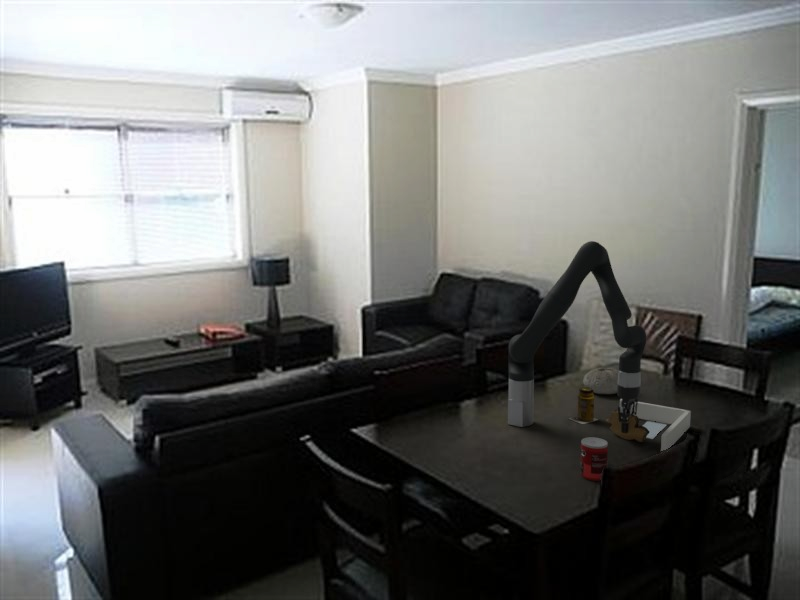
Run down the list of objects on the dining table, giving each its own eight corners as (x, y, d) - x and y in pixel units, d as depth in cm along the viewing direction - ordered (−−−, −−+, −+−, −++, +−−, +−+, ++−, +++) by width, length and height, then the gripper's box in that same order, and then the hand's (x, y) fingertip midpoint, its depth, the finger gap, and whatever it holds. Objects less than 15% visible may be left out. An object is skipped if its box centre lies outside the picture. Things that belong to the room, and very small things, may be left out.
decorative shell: (575, 388, 300) (575, 365, 298) (610, 383, 305) (611, 361, 303) (598, 400, 283) (599, 376, 281) (635, 395, 288) (636, 372, 286)
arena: (665, 453, 227) (666, 435, 226) (590, 437, 242) (591, 421, 241) (690, 426, 251) (690, 410, 250) (620, 413, 266) (621, 398, 265)
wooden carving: (652, 443, 236) (653, 415, 234) (644, 446, 233) (645, 418, 231) (610, 430, 248) (611, 403, 247) (602, 433, 245) (603, 406, 244)
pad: (652, 439, 239) (652, 438, 239) (632, 435, 243) (632, 434, 243) (667, 425, 253) (667, 424, 253) (647, 421, 257) (647, 420, 257)
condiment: (598, 420, 260) (599, 389, 258) (583, 424, 255) (583, 393, 253) (583, 414, 266) (584, 384, 264) (568, 419, 261) (569, 388, 259)
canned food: (586, 468, 217) (587, 435, 215) (611, 474, 212) (612, 440, 210) (575, 476, 211) (576, 442, 209) (600, 483, 206) (601, 448, 204)
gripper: (625, 376, 245) (623, 422, 248) (610, 386, 234) (609, 434, 237) (646, 380, 241) (644, 426, 243) (632, 390, 229) (630, 439, 232)
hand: (627, 430), depth 240 cm, fingers closed on wooden carving, 4 cm apart
